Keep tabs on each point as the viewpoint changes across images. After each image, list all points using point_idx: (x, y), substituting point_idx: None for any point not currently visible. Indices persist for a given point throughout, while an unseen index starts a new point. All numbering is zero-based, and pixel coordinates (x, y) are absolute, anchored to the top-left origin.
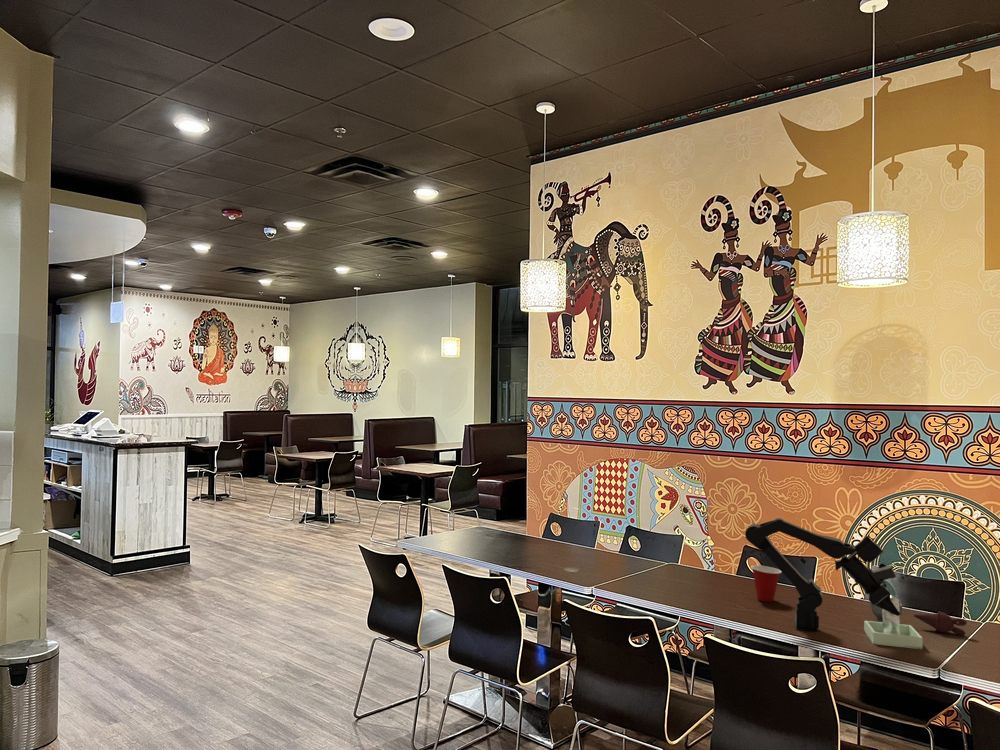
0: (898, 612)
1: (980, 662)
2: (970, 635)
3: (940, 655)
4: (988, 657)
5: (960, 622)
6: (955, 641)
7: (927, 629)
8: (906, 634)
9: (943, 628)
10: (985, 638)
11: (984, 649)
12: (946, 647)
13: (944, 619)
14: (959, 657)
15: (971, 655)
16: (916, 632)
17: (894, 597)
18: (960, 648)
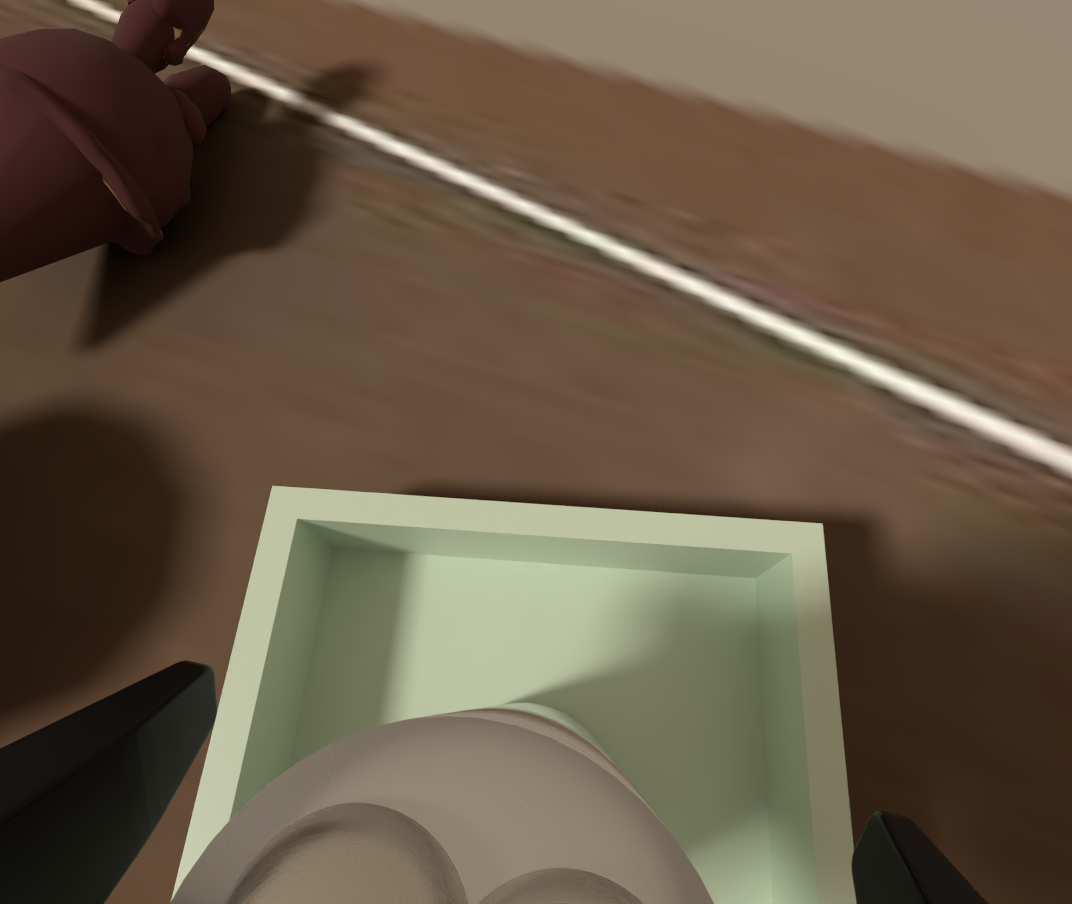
0: (942, 873)
1: (939, 213)
2: (207, 62)
3: (902, 449)
4: (766, 127)
5: (192, 15)
6: (398, 201)
7: (59, 296)
8: (326, 567)
9: (184, 183)
10: (270, 6)
11: (560, 90)
12: (608, 320)
13: (131, 101)
14: (879, 314)
15: (769, 214)
16: (599, 520)
17: (422, 889)
18: (596, 228)
